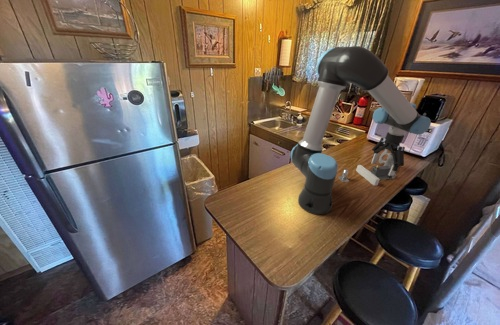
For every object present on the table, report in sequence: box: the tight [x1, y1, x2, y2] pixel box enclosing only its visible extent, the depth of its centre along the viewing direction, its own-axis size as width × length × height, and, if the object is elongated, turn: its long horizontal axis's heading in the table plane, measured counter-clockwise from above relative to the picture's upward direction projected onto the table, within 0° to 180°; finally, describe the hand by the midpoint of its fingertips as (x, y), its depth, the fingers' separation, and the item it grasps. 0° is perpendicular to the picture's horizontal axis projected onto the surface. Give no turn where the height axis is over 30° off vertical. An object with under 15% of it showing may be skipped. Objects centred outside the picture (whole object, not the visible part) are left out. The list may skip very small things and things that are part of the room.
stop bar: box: [370, 164, 391, 178], centre depth 113 cm, size 9×4×7 cm, turn 98°
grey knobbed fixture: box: [337, 168, 350, 183], centre depth 110 cm, size 4×5×6 cm
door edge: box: [355, 164, 381, 187], centre depth 112 cm, size 2×16×4 cm, turn 8°
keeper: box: [367, 169, 397, 181], centre depth 114 cm, size 14×6×3 cm, turn 98°
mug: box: [378, 149, 399, 173], centre depth 121 cm, size 8×12×12 cm, turn 31°
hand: (381, 169), depth 112 cm, fingers open, 13 cm apart
